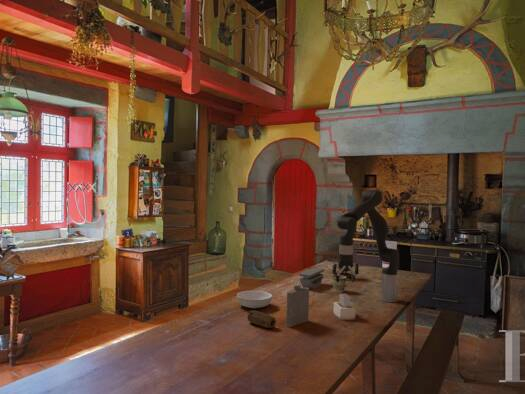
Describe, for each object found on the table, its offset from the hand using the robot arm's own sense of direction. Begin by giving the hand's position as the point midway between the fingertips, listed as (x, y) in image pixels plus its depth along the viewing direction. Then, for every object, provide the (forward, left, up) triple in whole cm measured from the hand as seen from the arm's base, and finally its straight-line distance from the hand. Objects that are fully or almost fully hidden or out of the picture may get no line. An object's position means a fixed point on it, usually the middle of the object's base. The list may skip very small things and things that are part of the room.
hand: (345, 282), depth 220 cm
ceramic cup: (-15, -50, -19) cm, 56 cm away
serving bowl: (+48, -20, -19) cm, 55 cm away
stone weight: (+48, +12, -19) cm, 53 cm away
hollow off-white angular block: (0, 0, -19) cm, 19 cm away
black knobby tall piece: (-30, -89, -19) cm, 96 cm away
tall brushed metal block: (0, 0, -17) cm, 17 cm away
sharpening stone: (+2, -64, -19) cm, 67 cm away
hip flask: (+29, +10, -19) cm, 36 cm away
